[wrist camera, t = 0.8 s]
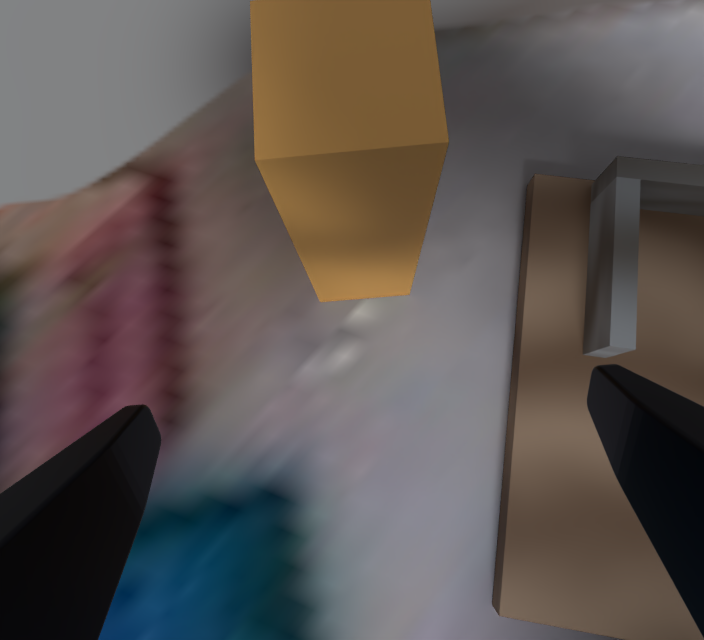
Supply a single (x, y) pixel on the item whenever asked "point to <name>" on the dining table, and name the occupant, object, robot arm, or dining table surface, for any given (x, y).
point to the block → (350, 135)
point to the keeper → (572, 388)
